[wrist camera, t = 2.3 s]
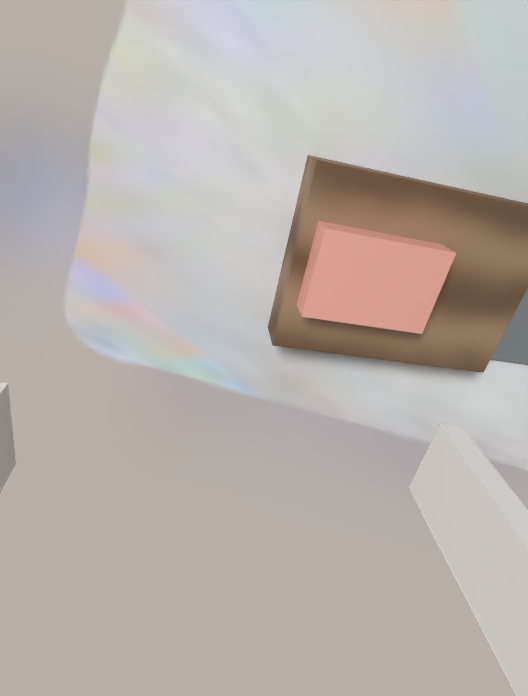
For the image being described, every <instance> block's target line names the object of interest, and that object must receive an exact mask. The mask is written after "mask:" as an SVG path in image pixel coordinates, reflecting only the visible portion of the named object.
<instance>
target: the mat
mask: <svg viewBox="0 0 528 696" xmlns="http://www.w3.org/2000/svg"><path fill="white" fill-rule="evenodd" d="M491 359H493V360H500V361H507V362H515V363H522V364H528V288H527V290H526V292H525V294H524V296H523V298H522V299H521V301H520V303H519V305H518V307H517V309H516V311H515V313H514V315H513V317H512V319H511V320H510V322H509V324H508V326H507V328H506V330H505V332H504V334H503V336H502V338H501V340H500V341H499V343H498V345H497V347H496V349H495V351H494V353H493V355H492V357H491Z"/></svg>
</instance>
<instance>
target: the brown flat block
mask: <svg viewBox="0 0 528 696" xmlns="http://www.w3.org/2000/svg"><path fill="white" fill-rule="evenodd" d="M318 221H322V222H327V223H332V224H338V225H343V226H348V227H353V228H359V229H364V230H369V231H374V232H380V233H385V234H390V235H395V236H401V237H406V238H411V239H417V240H422V241H427V242H432V243H438V244H442V245H444V246H446V247H447V248H449V249H450V250H452V251H454V252H455V253H456V255H455V257H454V260H453V262H452V265H451V267H450V269H449V272H448V274H447V276H446V279H445V281H444V283H443V286H442V288H441V291H440V293H439V295H438V298H437V300H436V302H435V305H434V307H433V309H432V312H431V314H430V316H429V319H428V321H427V324H426V326H425V328H424V331H423V333H422V334H418V333H412V332H405V331H398V330H391V329H384V328H377V327H370V326H363V325H356V324H349V323H342V322H335V321H328V320H321V319H314V318H307V317H302V316H301V314H300V312H299V309H298V307H297V301H298V297H299V293H300V289H301V285H302V282H303V278H304V274H305V270H306V266H307V262H308V259H309V255H310V251H311V247H312V243H313V239H314V236H315V232H316V228H317V224H318ZM527 288H528V203H523V202H518V201H514V200H509V199H505V198H500V197H496V196H491V195H487V194H482V193H478V192H473V191H468V190H464V189H459V188H455V187H450V186H446V185H441V184H437V183H432V182H428V181H423V180H419V179H414V178H409V177H405V176H400V175H396V174H391V173H387V172H382V171H378V170H373V169H369V168H364V167H359V166H355V165H350V164H346V163H341V162H337V161H332V160H328V159H323V158H319V157H314V156H309V155H308V157H307V162H306V166H305V170H304V174H303V179H302V183H301V187H300V192H299V196H298V200H297V205H296V209H295V213H294V217H293V222H292V226H291V230H290V235H289V239H288V243H287V247H286V252H285V256H284V260H283V265H282V269H281V273H280V278H279V282H278V286H277V290H276V295H275V299H274V303H273V308H272V312H271V316H270V321H269V325H268V329H269V333H270V337H271V341H272V345H274V346H282V347H290V348H297V349H305V350H313V351H321V352H328V353H336V354H344V355H352V356H359V357H367V358H375V359H383V360H390V361H398V362H406V363H414V364H421V365H429V366H437V367H445V368H453V369H460V370H468V371H476V372H484V370H485V368H486V366H487V364H488V362H489V361H490V359H491V357H492V355H493V353H494V351H495V349H496V347H497V345H498V343H499V341H500V340H501V338H502V336H503V334H504V332H505V330H506V328H507V326H508V324H509V322H510V320H511V319H512V317H513V315H514V313H515V311H516V309H517V307H518V305H519V303H520V301H521V299H522V298H523V296H524V294H525V292H526V290H527Z"/></svg>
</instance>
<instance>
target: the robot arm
mask: <svg viewBox="0 0 528 696" xmlns="http://www.w3.org/2000/svg"><path fill="white" fill-rule="evenodd" d="M15 464H16V461H15V451H14V440H13V431H12V420H11V410H10V399H9V389H8V383H0V492H1V490H2V488H3V486H4V484H5V483H6V481H7V479H8V477H9V475H10V473H11V472H12V470H13V468H14V466H15ZM409 490H410V492H411V493H412V496H413V497H414V499H415V501H416V503H417V505H418V507H419V509H420V511H421V513H422V515H423V517H424V519H425V521H426V523H427V525H428V526H429V529H430V530H431V532H432V534H433V536H434V538H435V540H436V542H437V544H438V546H439V548H440V550H441V552H442V554H443V556H444V558H445V560H446V562H447V563H448V565H449V567H450V569H451V571H452V573H453V575H454V577H455V579H456V581H457V583H458V585H459V587H460V589H461V590H462V592H463V594H464V596H465V598H466V600H467V602H468V604H469V606H470V608H471V610H472V612H473V614H474V616H475V617H476V619H477V621H478V623H479V625H480V627H481V629H482V631H483V633H484V635H485V637H486V639H487V641H488V643H489V645H490V646H491V649H492V650H493V652H494V654H495V656H496V658H497V660H498V662H499V664H500V666H501V668H502V670H503V671H504V674H505V676H506V677H507V679H508V681H509V683H510V685H511V687H512V689H513V691H514V693H515V695H516V696H528V510H527V508H526V507H525V506H524V505H523V503H522V502H521V501H520V499H519V498H518V497H517V496H516V494H515V493H514V492H513V491H512V489H511V488H510V487H509V486H508V484H507V483H506V482H505V480H504V479H503V478H502V476H501V475H500V474H499V473H498V472H497V470H496V469H495V468H494V466H493V465H492V464H491V463H490V461H489V460H488V459H487V457H486V456H485V455H484V453H483V452H482V451H481V450H480V448H479V447H478V446H477V444H476V443H475V442H474V441H473V439H472V438H471V437H470V436H469V434H468V433H467V432H466V430H465V429H464V428H463V427H462V426H454V425H444V424H440V425H439V427H438V429H437V431H436V433H435V435H434V438H433V440H432V442H431V444H430V446H429V448H428V450H427V452H426V454H425V456H424V458H423V460H422V462H421V464H420V466H419V468H418V470H417V472H416V474H415V476H414V478H413V480H412V482H411V484H410V486H409Z"/></svg>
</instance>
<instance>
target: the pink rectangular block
mask: <svg viewBox="0 0 528 696" xmlns="http://www.w3.org/2000/svg"><path fill="white" fill-rule="evenodd" d="M455 255H456V253H455V252H454V251H452V250H450V249H449V248H447V247H446V246H444V245H442V244H438V243H432V242H427V241H422V240H417V239H411V238H406V237H401V236H395V235H390V234H385V233H380V232H374V231H369V230H364V229H359V228H353V227H348V226H343V225H338V224H332V223H327V222H322V221H318V224H317V228H316V232H315V236H314V239H313V243H312V247H311V251H310V255H309V259H308V262H307V266H306V270H305V274H304V278H303V282H302V285H301V289H300V293H299V297H298V301H297V307H298V309H299V312H300V314H301V316H302V317H307V318H314V319H321V320H328V321H335V322H342V323H349V324H356V325H363V326H370V327H377V328H384V329H391V330H398V331H405V332H412V333H418V334H422V333H423V331H424V328H425V326H426V324H427V321H428V319H429V316H430V314H431V312H432V309H433V307H434V305H435V302H436V300H437V298H438V295H439V293H440V291H441V288H442V286H443V283H444V281H445V279H446V276H447V274H448V272H449V269H450V267H451V265H452V262H453V260H454V257H455Z"/></svg>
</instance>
